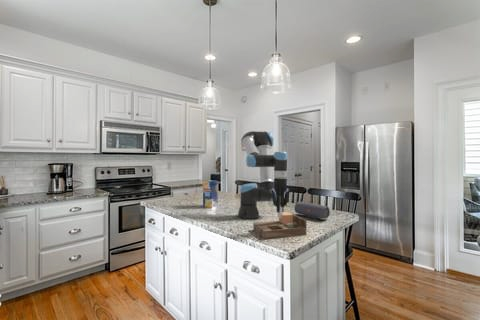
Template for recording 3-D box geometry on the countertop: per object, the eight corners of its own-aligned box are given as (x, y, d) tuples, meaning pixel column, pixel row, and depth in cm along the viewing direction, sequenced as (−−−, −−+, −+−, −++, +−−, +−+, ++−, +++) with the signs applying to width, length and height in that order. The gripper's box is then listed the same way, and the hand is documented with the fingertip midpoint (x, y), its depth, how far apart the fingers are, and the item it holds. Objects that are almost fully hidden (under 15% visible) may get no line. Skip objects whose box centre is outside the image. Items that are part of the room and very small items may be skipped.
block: (278, 221, 143) (278, 212, 143) (287, 220, 145) (287, 212, 144) (283, 223, 137) (283, 215, 137) (292, 223, 139) (292, 214, 139)
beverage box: (208, 205, 207) (208, 179, 207) (217, 206, 200) (217, 180, 199) (202, 206, 202) (202, 180, 201) (211, 208, 195) (211, 181, 194)
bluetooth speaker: (293, 215, 172) (294, 201, 172) (300, 213, 179) (300, 200, 179) (323, 221, 156) (323, 206, 156) (330, 219, 163) (330, 204, 163)
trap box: (253, 229, 139) (253, 216, 139) (291, 225, 147) (291, 213, 147) (264, 239, 123) (264, 223, 123) (306, 234, 131) (306, 220, 131)
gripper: (273, 178, 134) (272, 220, 134) (293, 178, 138) (293, 218, 138) (267, 177, 141) (267, 216, 141) (287, 177, 145) (286, 215, 145)
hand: (280, 217), depth 140 cm, fingers closed
